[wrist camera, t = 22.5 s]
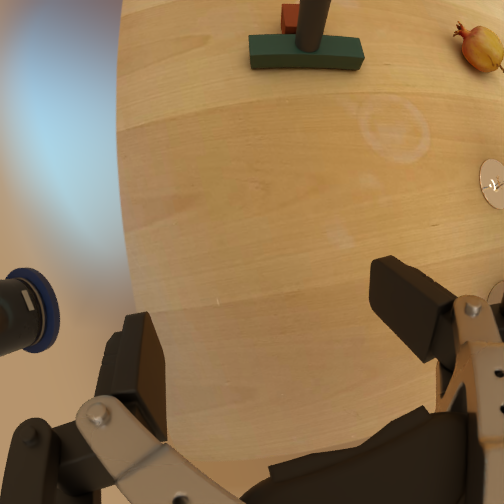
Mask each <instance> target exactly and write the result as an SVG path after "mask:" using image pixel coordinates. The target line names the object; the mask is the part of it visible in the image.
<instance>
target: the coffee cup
mask: <svg viewBox="0 0 504 504" xmlns="http://www.w3.org/2000/svg"><path fill="white" fill-rule="evenodd" d="M503 293H504V281H502V282H499V283H498V284H496V285H495V286H494V287H493V289H492V290H491V292H490V294H489V297H488V300H487V302H488V303H489V305H491V304H497V303H501V300H502V297H503Z"/></svg>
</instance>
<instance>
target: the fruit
mask: <svg viewBox="0 0 504 504" xmlns="http://www.w3.org/2000/svg"><path fill="white" fill-rule="evenodd" d="M458 23H459V25H460V26H458V25H457V24H456V26H457V28H458V31H455V32H454V33H456V34H454V35H453V37H454V36H455V35H461V36H462V37H463V39H464V41H463V43H462V53H463V55H464V57H465V58H466V59H467V61H468V62H469V63H470V64H471V65H472V66H474V67H475V68H476V69H478V70H480V71H483V72H491V71H495V70H497V69H498V67H500V68H501V69H502V70H503V73H504V69H503V68H502V66H501V65H500V64H501V62H502V60H503V56H504V48H503V45H502V43H501V41H500V39H499V38H498V36H497V35H496V34H495V33H494V32H492V31H491V30H489V29H487V28H485V27H482V26H477V27H475V28H473V29H472V30H471V31H468V30H466V29H465V28H464V27H463V26H462V24H461V23H460V22H459V21H458Z"/></svg>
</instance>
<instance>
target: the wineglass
mask: <svg viewBox="0 0 504 504" xmlns="http://www.w3.org/2000/svg"><path fill="white" fill-rule="evenodd" d="M479 180H480V186H481V190H482V192H483V195H484V197H485V198H486V200H487V201H488V203H489V204H490V205H491V206H493V207H494V208H496V209H504V166H503V165H502V164H501V163H500V162H499V161H497V160H495V159H488V160H486V161H485V162H484V163H483V164H482V166H481V168H480V173H479Z"/></svg>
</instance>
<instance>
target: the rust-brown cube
mask: <svg viewBox="0 0 504 504" xmlns="http://www.w3.org/2000/svg"><path fill="white" fill-rule="evenodd" d="M299 5H300V4H282V12H281V30H282V34H296V29H297V21H298V13H299Z"/></svg>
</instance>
